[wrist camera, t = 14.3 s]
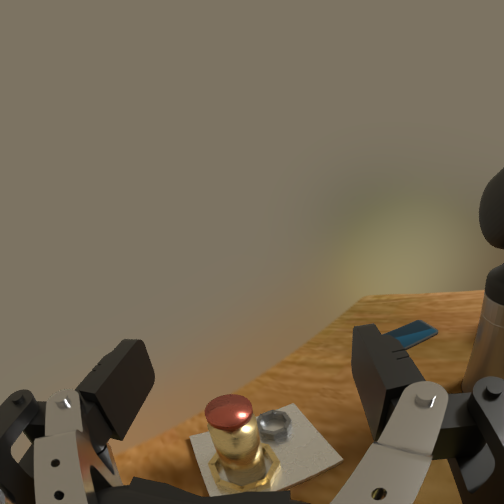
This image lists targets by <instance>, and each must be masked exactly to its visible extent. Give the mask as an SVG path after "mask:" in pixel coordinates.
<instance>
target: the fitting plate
mask: <svg viewBox="0 0 504 504" xmlns="http://www.w3.org/2000/svg"><path fill="white" fill-rule="evenodd" d="M256 420H257V425H258V431H259V436H260V441H261V446H262V451H263V456H264V461H265V466H266V472H265V474H264V476H263V477H262V478H261V479H260V480H259V481H256V482H253V483H250V484H247V485H239V484H235V483H233V482H231V481H230V480H229V479H228V478H227V476H226V474H225V472H224V469H223V467H222V464H221V462H220V459H219V457H218V454H217V452H216V449H215V446H214V444H213V441H212V438H211V436H210V433H209V432H205V433H201V434H197V435H193V436H189V437H190V440H191V443H192V447H193V450H194V453H195V456H196V459H197V462H198V465H199V468H200V471H201V474H202V476H203V479H204V482H205V485H206V487H207V490H208V493H209V495H210V497H212V496H221V495H228V494H235V493H242V492H268V491H284V490H286V489H288V488H291V487H293V486H296V485H298V484H300V483H302V482H305V481H307V480H309V479H311V478H313V477H315V476H317V475H319V474H322V473H324V472H326V471H327V470H329V469H331V468H333V467H335V466H337V465H339V464H341V463H343V458H342V457H341V456H340V455H339V454H338V453H337V452H336V451H335V450H334V449H333V447H332V446H331V445H330V444H329V443H328V442H327V441H326V440H325V439H324V438H323V436H322V435H321V434H320V433H319V432H318V431H317V430H316V429H315V427H314V426H313V425H312V424H311V423H310V422H309V421H308V419H307V418H306V417H305V416H304V415H303V414H302V412H301V411H300V410H299V409H298V408H297V407H296V405H295V404H294V403H293V404H290V405H288V406H285V407H282V408H280V409H277V410H271V411H268V412H265V413H262V414H260V415H259V416H258V417H256Z"/></svg>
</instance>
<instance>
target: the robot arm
mask: <svg viewBox="0 0 504 504" xmlns="http://www.w3.org/2000/svg"><path fill="white" fill-rule="evenodd" d="M479 222H480V227H481V230H482V233H483V235H484V237H485V239H486V240H487V241H488V242H489V243H490V244H491V245H492V246H494V247H496V248H500V249H504V168H503V169H502V170H501V171H500V172H499V173H498V174H497V175H496V176H494V177H493V178H492V179H491V180H490V182H489V183H488V185H487V186H486V188H485V190H484V192H483V195H482V198H481V202H480V208H479ZM351 366H352V374H353V378H354V381H355V384H356V387H357V390H358V393H359V396H360V399H361V402H362V405H363V408H364V411H365V414H366V417H367V420H368V423H369V427H370V430H371V433H372V436H373V440H374V442H373V443H372V445H371V446H370V447H369V449H368V450H367V452H366V454H365V455H364V457H363V458H362V460H361V461H360V463H359V464H358V466H357V467H356V469H355V470H354V472H353V473H352V475H351V476H350V478H349V479H348V480H347V482H346V483H345V485H344V486H343V487H342V489H341V490H340V491H339V493H338V494H337V495H336V497H335V498H334V499H333V500H332V502H331V503H330V504H413V502H414V500H415V498H416V496H417V493H418V491H419V489H420V487H421V485H422V483H423V480H424V478H425V476H426V473H427V471H428V468H429V466H430V463H431V460H438V459H447V460H448V463H449V465H450V468H451V471H452V473H453V476H454V479H455V482H456V485H457V488H458V491H459V494H460V497H461V500H462V503H463V504H504V263H503V264H502V265H500V266H498V267H496V268H494V269H492V270H491V271H490V272H489V274H488V276H487V279H486V285H485V292H484V299H483V304H482V310H481V315H480V320H479V325H478V329H477V334H476V338H475V342H474V345H473V349H472V353H471V356H470V360H469V363H468V366H467V369H466V372H465V376H464V379H463V381H462V391H463V393H458V394H447V392H446V390H445V389H444V388H443V387H442V386H441V385H439V384H437V383H434V382H429V381H426V380H425V379H424V377H423V376H422V374H421V373H420V371H419V370H418V368H417V367H416V365H415V364H414V362H413V360H412V359H411V357H410V358H409V355H408V353H407V352H406V351H405V349H404V347H403V346H402V344H401V343H400V341H399V340H397V339H396V338H394V337H392V336H391V335H389V334H388V335H381V333H380V332H379V330H378V328H377V327H376V325H375V324H367V325H361V326H355V327H354V328H353V341H352V360H351ZM154 381H155V374H154V370H153V367H152V364H151V361H150V359H149V356H148V353H147V350H146V347H145V344H144V342H143V341H142V340H137V339H134V340H133V339H124V340H122V341H121V343H120V344H119V345H118V346H117V347H116V348H115V349H114V350H113V351H112V352H110V353H109V354H107V355H106V356H104V357H103V358H102V359H101V360H100V362H99V363H98V365H96V366H95V367H94V368H93V369H92V371H91V372H90V373H89V374H88V375H87V376H86V377H85V379H84V380H83V381H82V382H81V383H80V384H79V385H78V387H77V388H76V389H75V390H72V389H64V390H60V391H58V392H56V393H54V394H53V395H52V396H50V398H49V399H48V401H47V402H39V401H38V402H37V401H36V400H35V398H34V396H33V394H32V393H31V392H30V391H29V390H19V391H16V392H14V393H13V394H11V395H10V396H9V397H8V398H7V399H6V400H5V401H4V402H3V404H2V405H1V406H0V504H310V503H306V502H301V501H295V500H291V498H290V491H268V492H242V493H235V494H228V495H221V496H212V497H201V496H198V495H195V494H192V493H189V492H187V491H184V490H181V489H179V488H176V487H174V486H171V485H169V484H166V483H161V482H156V481H151V480H146V479H142V478H138V477H133V479H132V481H131V483H130V485H123V483H122V481H121V479H120V476H119V473H118V470H117V466H116V463H115V460H114V456H113V453H112V449H111V446H110V445H109V443H108V440H109V439H110V438H113V439H116V440H121V441H122V440H123V439H124V437H125V435H126V433H127V431H128V430H129V428H130V426H131V424H132V422H133V421H134V419H135V417H136V415H137V413H138V412H139V410H140V408H141V406H142V405H143V403H144V401H145V399H146V397H147V396H148V394H149V392H150V390H151V388H152V387H153V384H154ZM22 431H23V432H24V434H25V435H26V436H27V438H28V439H29V440H30V442H31V443H32V445H31V446H30V447H29V449H28V450H27V452H26V453H25V455H24V456H23V458H22V459H21V460H20V462H19V463H17V462H16V461H15V460H14V459H13V457H12V455H11V446H12V445H13V443H14V442H15V441H16V439H17V438H18V437H19V435H20V434H21V433H22ZM375 441H377V442H375Z"/></svg>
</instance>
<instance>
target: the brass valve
mask: <svg viewBox="0 0 504 504" xmlns="http://www.w3.org/2000/svg"><path fill="white" fill-rule="evenodd" d="M205 416H206V419H207V421H208V430H209V433H210V436H211V438H212V441H213V444H214V446H215V449H216V452H217V454H218V457H219V459H220V462H221V464H222V467H223V469H224V472H225V474H226V476H227V478H228V479H229V480H230V481H231V482H233V483H235V484H239V485H247V484H250V483H253V482H256V481H259V480H260V479H261V478H262V477H263V476H264V474H265V472H266V466H265V461H264V456H263V451H262V446H261V441H260V436H259V431H258V425H257V420H256V417H255V415H254V414H253V410H252V405H251V402H250V401H249V400H248V399H247V398H245V397H243V396H240V395H235V394H229V395H223V396H220V397H217V398H215V399H213V400H212V401H211V402H209V403H208V405H207V406H206V408H205Z"/></svg>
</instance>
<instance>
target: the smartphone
mask: <svg viewBox="0 0 504 504" xmlns="http://www.w3.org/2000/svg"><path fill="white" fill-rule="evenodd" d="M388 334H389V335H391V336H392V337H394V338H396V339H397V340H399V341H400V343H401V344H402V346H403V347H404V349H405V350H407V349H409V348H411V347H413V346H415V345H417V344H419V343H421V342H423V341H425V340H427V339H430V338H431V337H433V336H435V335H437V334H438V330H437V329H436V328H434V327H432V326H430V325H429V324H427V323H425V322H423V321H422V320H416V321H414V322H412V323H410V324H407V325H405V326H402V327H400V328H398V329H395V330H393V331H390V332H388V333H385V334H382V335H388Z"/></svg>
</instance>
